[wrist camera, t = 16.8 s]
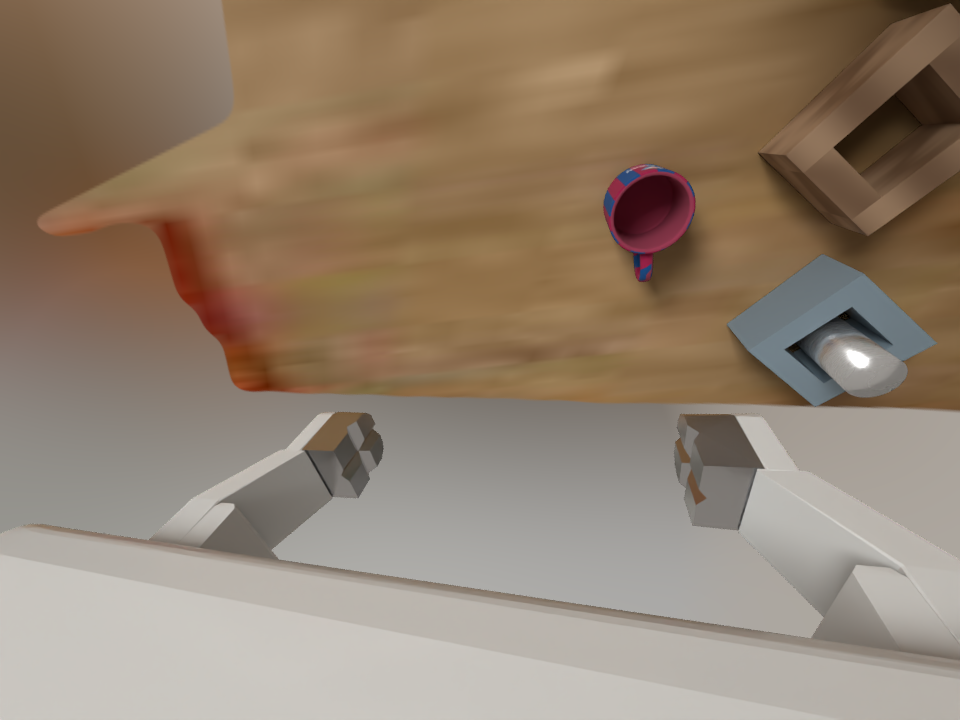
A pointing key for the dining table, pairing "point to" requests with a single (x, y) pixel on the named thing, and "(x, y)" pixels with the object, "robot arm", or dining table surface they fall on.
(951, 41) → the mount
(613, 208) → the mug
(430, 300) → the dining table surface
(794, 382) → the socket
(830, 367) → the pin
